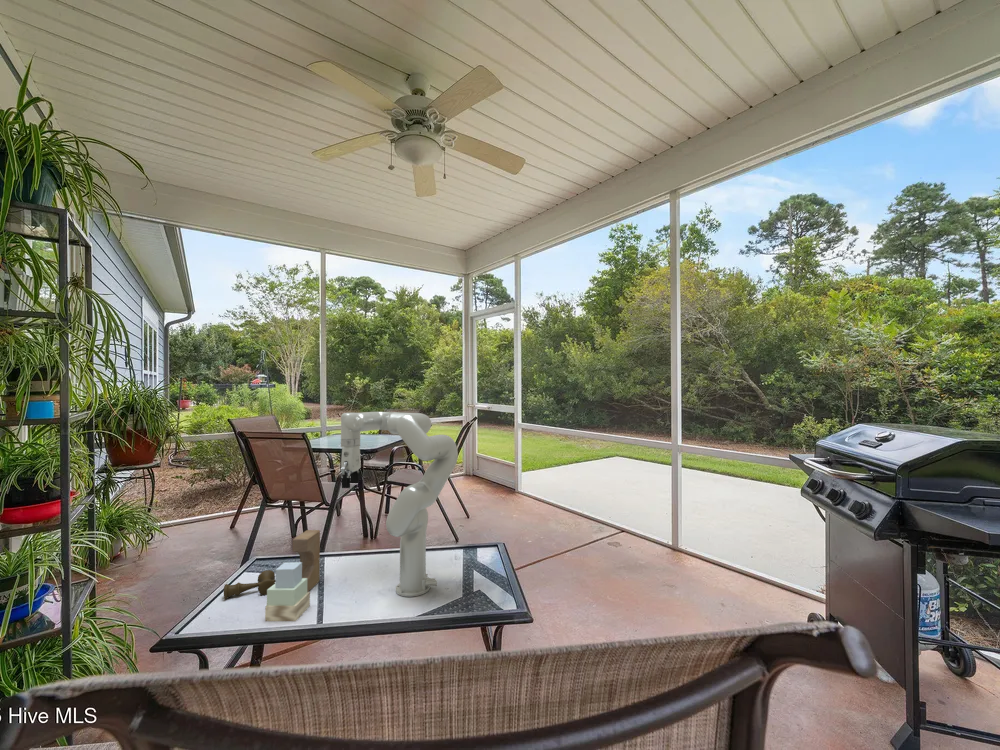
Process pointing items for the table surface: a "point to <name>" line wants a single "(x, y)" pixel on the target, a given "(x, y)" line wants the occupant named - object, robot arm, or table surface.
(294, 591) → the upper tower block
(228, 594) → the kendama
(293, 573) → the grey-blue cube
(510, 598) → the table surface
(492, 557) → the table surface
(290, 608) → the lower tower block
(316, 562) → the decorative block
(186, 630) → the table surface
